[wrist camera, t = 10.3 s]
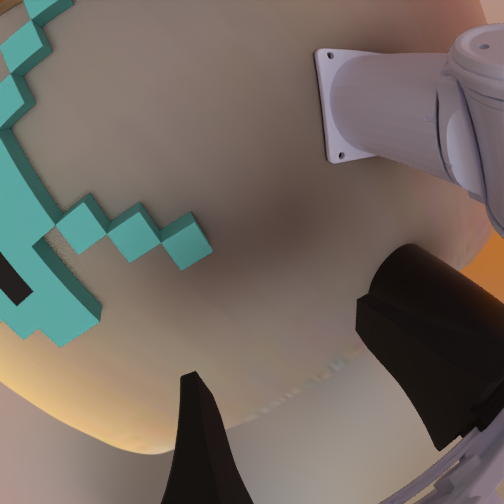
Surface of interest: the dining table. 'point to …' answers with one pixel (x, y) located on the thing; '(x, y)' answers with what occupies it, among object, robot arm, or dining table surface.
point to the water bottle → (437, 293)
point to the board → (8, 5)
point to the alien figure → (59, 214)
